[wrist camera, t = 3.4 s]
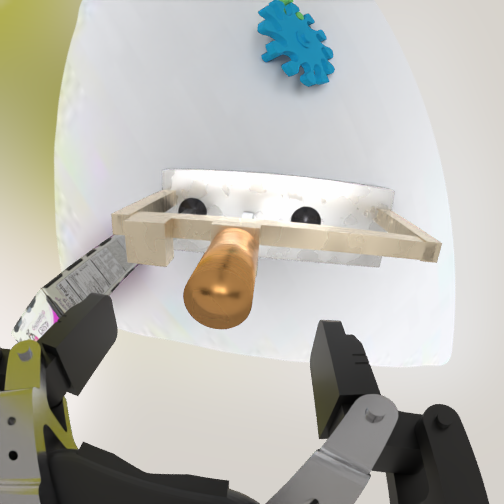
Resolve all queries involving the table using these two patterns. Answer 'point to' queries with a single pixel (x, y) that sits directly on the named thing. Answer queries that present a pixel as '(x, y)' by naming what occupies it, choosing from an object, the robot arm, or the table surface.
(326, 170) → the table surface
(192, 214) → the divider frame
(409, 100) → the table surface
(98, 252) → the candy bar box
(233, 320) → the cylinder
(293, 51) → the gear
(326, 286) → the table surface
